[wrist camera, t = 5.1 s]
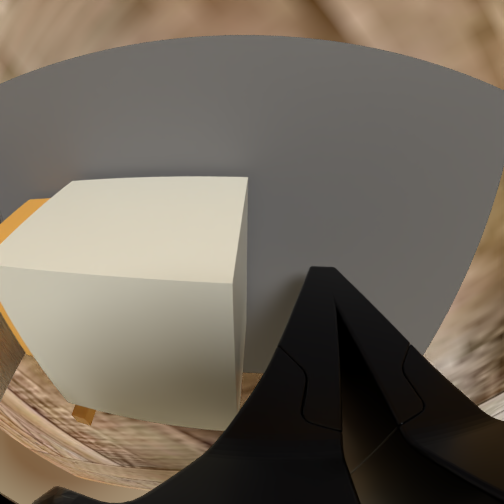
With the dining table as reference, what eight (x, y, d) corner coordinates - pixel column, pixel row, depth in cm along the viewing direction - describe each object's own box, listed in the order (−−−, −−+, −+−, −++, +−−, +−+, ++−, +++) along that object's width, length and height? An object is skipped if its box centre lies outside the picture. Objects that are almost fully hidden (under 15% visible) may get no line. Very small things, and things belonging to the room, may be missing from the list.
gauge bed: (494, 90, 7) (673, 183, 1) (408, 348, 13) (446, 482, 7) (-41, 106, 7) (-169, 184, 1) (30, 322, 14) (-25, 425, 8)
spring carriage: (248, 176, 7) (232, 282, 4) (246, 322, 10) (238, 432, 7) (72, 181, 8) (-19, 263, 4) (109, 310, 10) (68, 402, 7)
